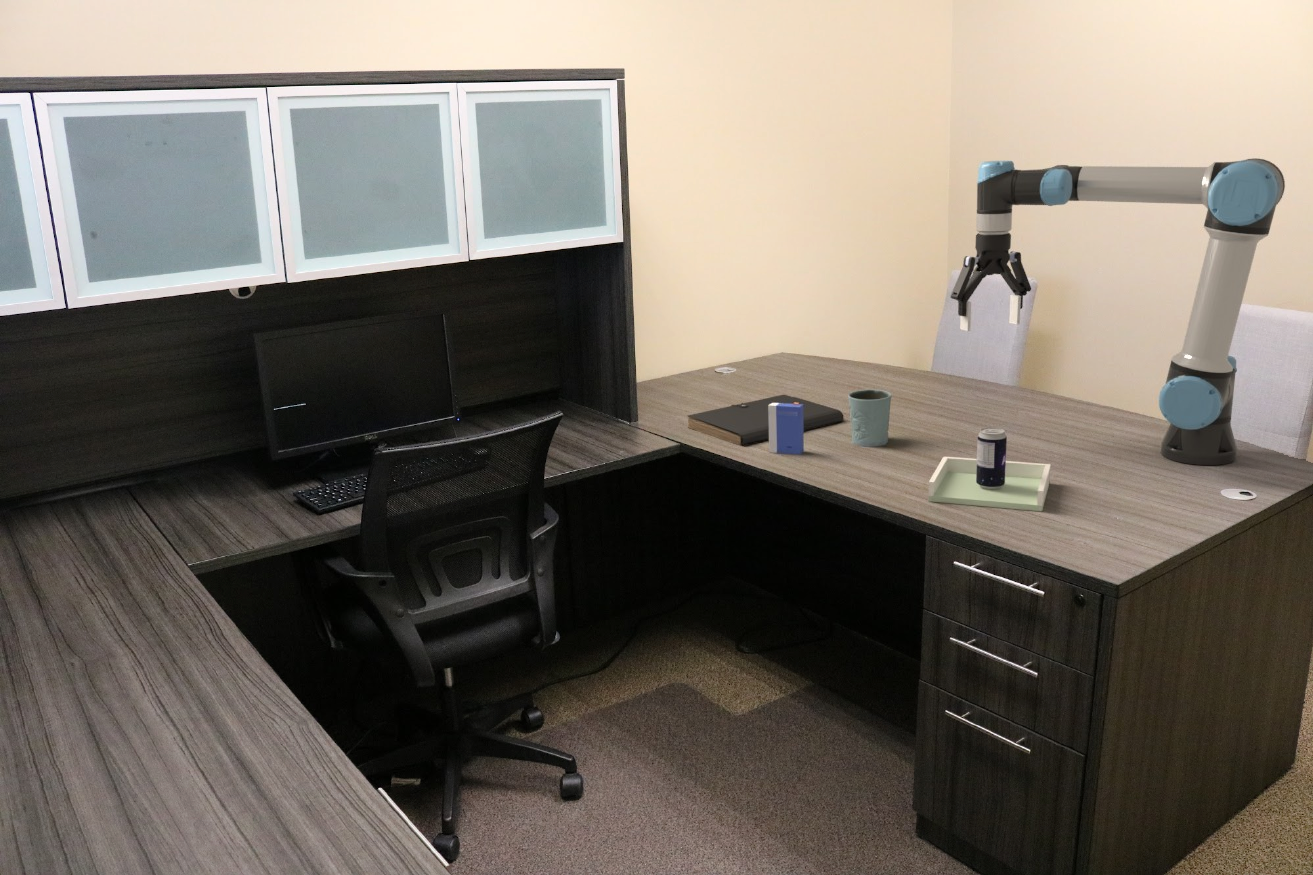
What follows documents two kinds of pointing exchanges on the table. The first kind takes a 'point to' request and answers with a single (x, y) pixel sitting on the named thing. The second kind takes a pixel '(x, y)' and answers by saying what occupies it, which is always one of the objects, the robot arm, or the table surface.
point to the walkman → (786, 428)
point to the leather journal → (757, 419)
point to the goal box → (960, 487)
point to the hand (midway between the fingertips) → (990, 326)
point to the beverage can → (991, 458)
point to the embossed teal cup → (869, 417)
